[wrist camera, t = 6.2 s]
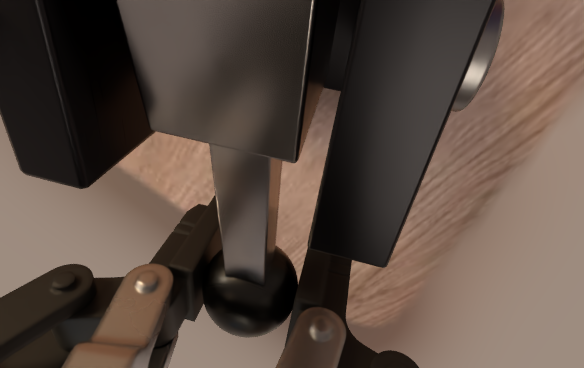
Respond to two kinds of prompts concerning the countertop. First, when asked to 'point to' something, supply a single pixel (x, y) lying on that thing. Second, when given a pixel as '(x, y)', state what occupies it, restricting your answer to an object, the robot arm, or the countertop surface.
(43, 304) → the robot arm
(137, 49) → the lever
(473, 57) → the bracket
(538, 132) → the countertop surface
